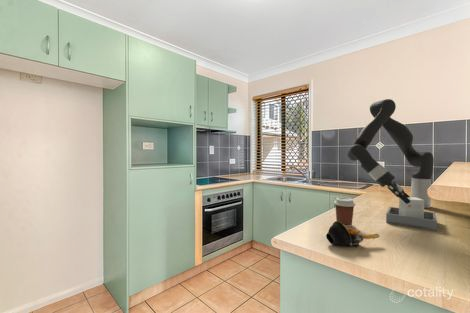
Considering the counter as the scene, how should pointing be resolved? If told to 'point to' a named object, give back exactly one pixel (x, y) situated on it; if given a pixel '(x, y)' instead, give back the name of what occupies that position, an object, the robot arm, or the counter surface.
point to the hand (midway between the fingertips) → (409, 201)
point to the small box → (412, 207)
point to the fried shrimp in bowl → (346, 235)
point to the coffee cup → (344, 211)
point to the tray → (412, 219)
